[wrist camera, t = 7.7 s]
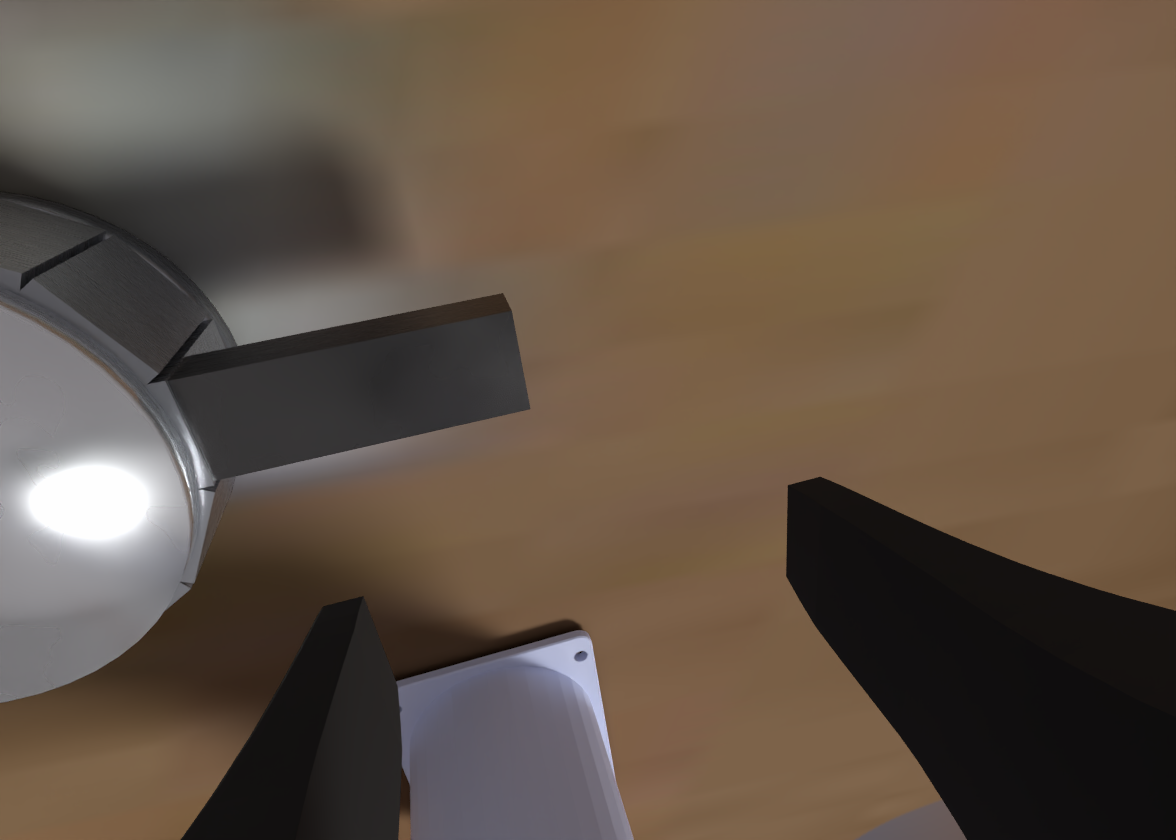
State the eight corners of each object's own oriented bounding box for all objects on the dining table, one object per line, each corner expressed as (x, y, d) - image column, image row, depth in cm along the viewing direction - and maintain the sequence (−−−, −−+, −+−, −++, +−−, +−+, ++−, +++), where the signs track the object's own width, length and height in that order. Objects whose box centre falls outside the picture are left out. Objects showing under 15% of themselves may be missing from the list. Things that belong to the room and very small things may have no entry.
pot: (524, 448, 22) (555, 540, 17) (-181, 615, 19) (-356, 778, 14) (456, 110, 17) (475, 120, 13) (-504, 258, 14) (-911, 339, 10)
